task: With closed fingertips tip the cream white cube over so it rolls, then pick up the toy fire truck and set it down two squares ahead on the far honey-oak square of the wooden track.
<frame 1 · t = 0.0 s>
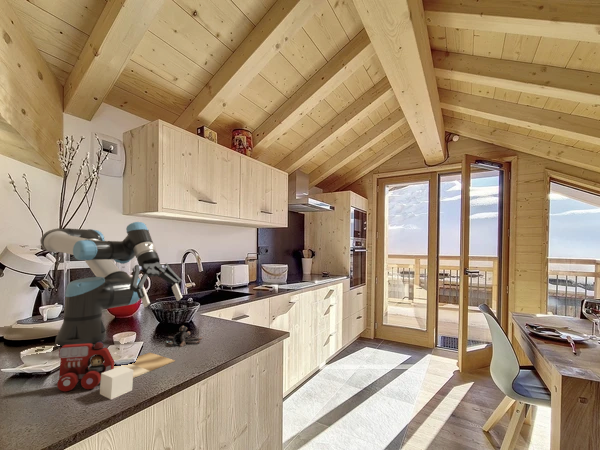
hand: (164, 302, 104), 15 cm above the counter, tool tilted 35°, fingers open, 13 cm apart
cream white cube: (116, 392, 69), on the counter
board: (136, 366, 83), on the counter
stuffed animal: (182, 343, 105), on the counter
toy fire truck: (85, 384, 72), on the counter, touching board
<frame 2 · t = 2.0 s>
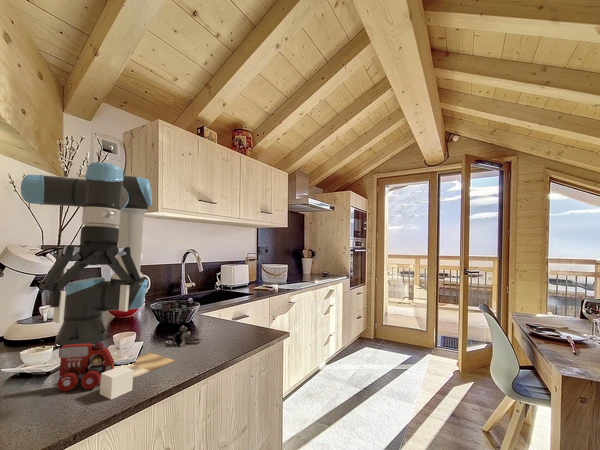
hand: (93, 316, 65), 20 cm above the counter, tool pointing down, fingers open, 13 cm apart
nothing on the counter moved.
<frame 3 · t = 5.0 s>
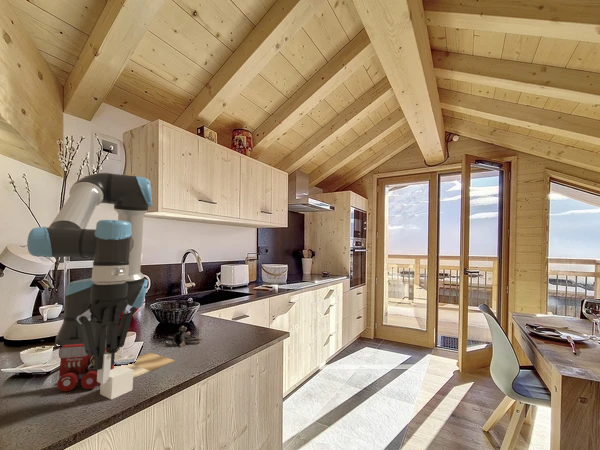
hand: (103, 381, 66), 4 cm above the counter, tool pointing down, fingers closed
cream white cube: (116, 392, 69), on the counter, touching gripper
everything else where it was.
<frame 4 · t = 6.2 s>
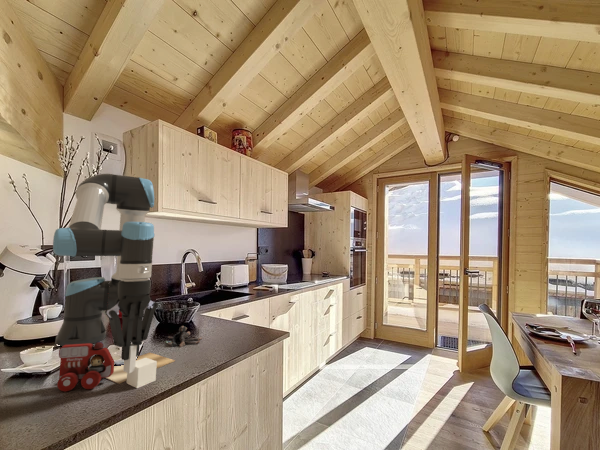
hand: (129, 370, 71), 4 cm above the counter, tool pointing down, fingers closed
cream white cube: (141, 381, 74), on the counter, touching gripper
everything else where it was.
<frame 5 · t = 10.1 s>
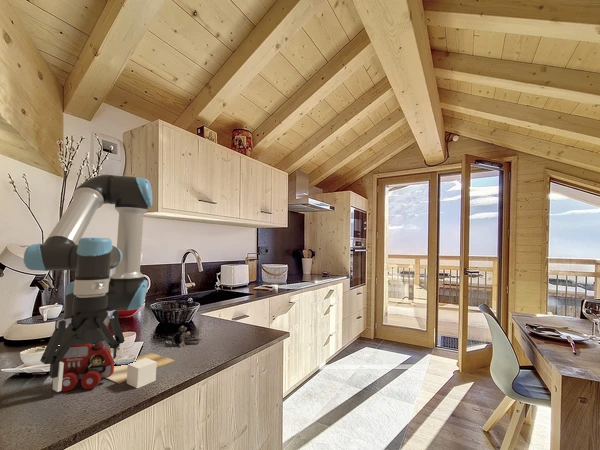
hand: (84, 380, 72), 1 cm above the counter, tool pointing down, fingers closed on toy fire truck, 11 cm apart
cream white cube: (141, 382, 74), on the counter
toy fire truck: (85, 384, 72), on the counter, touching gripper
everything else where it was.
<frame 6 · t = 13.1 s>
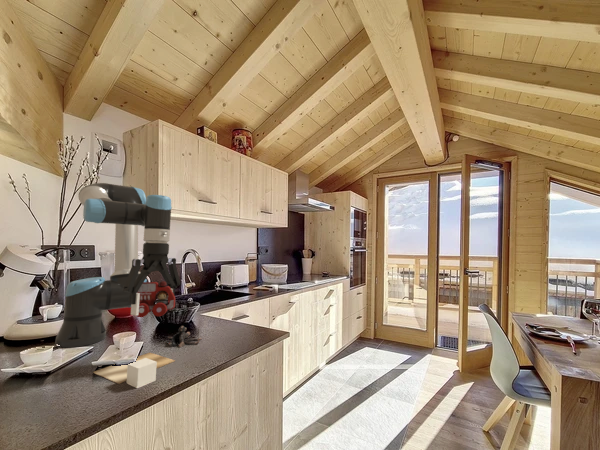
hand: (152, 311, 88), 16 cm above the counter, tool pointing down, fingers closed on toy fire truck, 11 cm apart
toy fire truck: (153, 314, 88), point 14 cm above the counter, touching gripper
everything else where it was.
when the fingers open (2 cm above the counter, at t = 16.0 s): toy fire truck drops 1 cm, resting on board.
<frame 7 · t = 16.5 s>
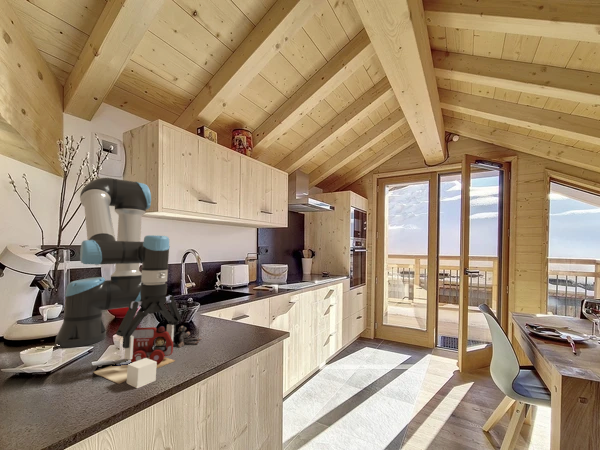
hand: (150, 351, 87), 3 cm above the counter, tool pointing down, fingers open, 13 cm apart
toy fire truck: (150, 361, 87), resting on board
everything else where it was.
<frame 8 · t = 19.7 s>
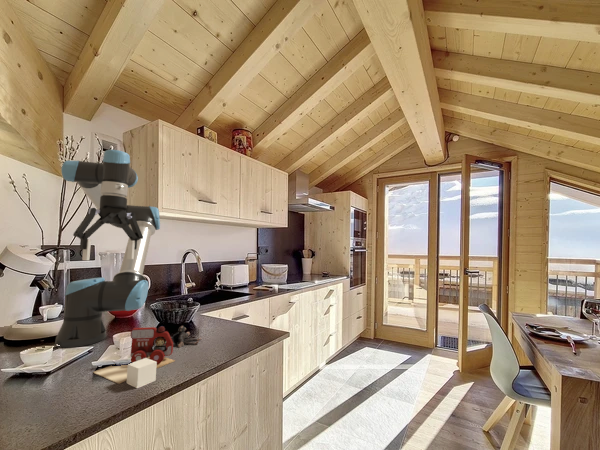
hand: (109, 259, 91), 32 cm above the counter, tool pointing down, fingers open, 13 cm apart
nothing on the counter moved.
at the end: toy fire truck inside the target area (0.3 cm from its centre), resting on board; cream white cube moved 6.2 cm from its start; the gripper is holding nothing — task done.
